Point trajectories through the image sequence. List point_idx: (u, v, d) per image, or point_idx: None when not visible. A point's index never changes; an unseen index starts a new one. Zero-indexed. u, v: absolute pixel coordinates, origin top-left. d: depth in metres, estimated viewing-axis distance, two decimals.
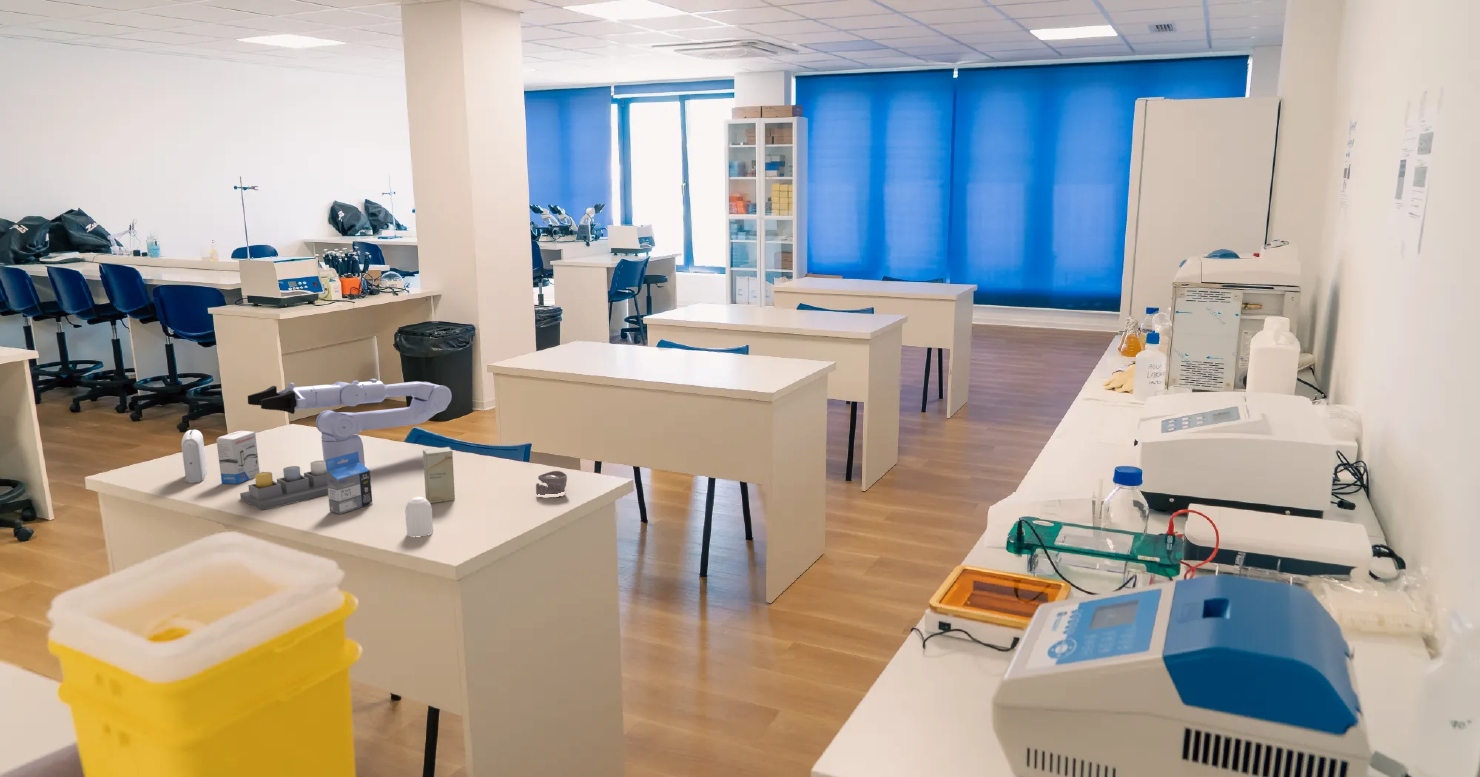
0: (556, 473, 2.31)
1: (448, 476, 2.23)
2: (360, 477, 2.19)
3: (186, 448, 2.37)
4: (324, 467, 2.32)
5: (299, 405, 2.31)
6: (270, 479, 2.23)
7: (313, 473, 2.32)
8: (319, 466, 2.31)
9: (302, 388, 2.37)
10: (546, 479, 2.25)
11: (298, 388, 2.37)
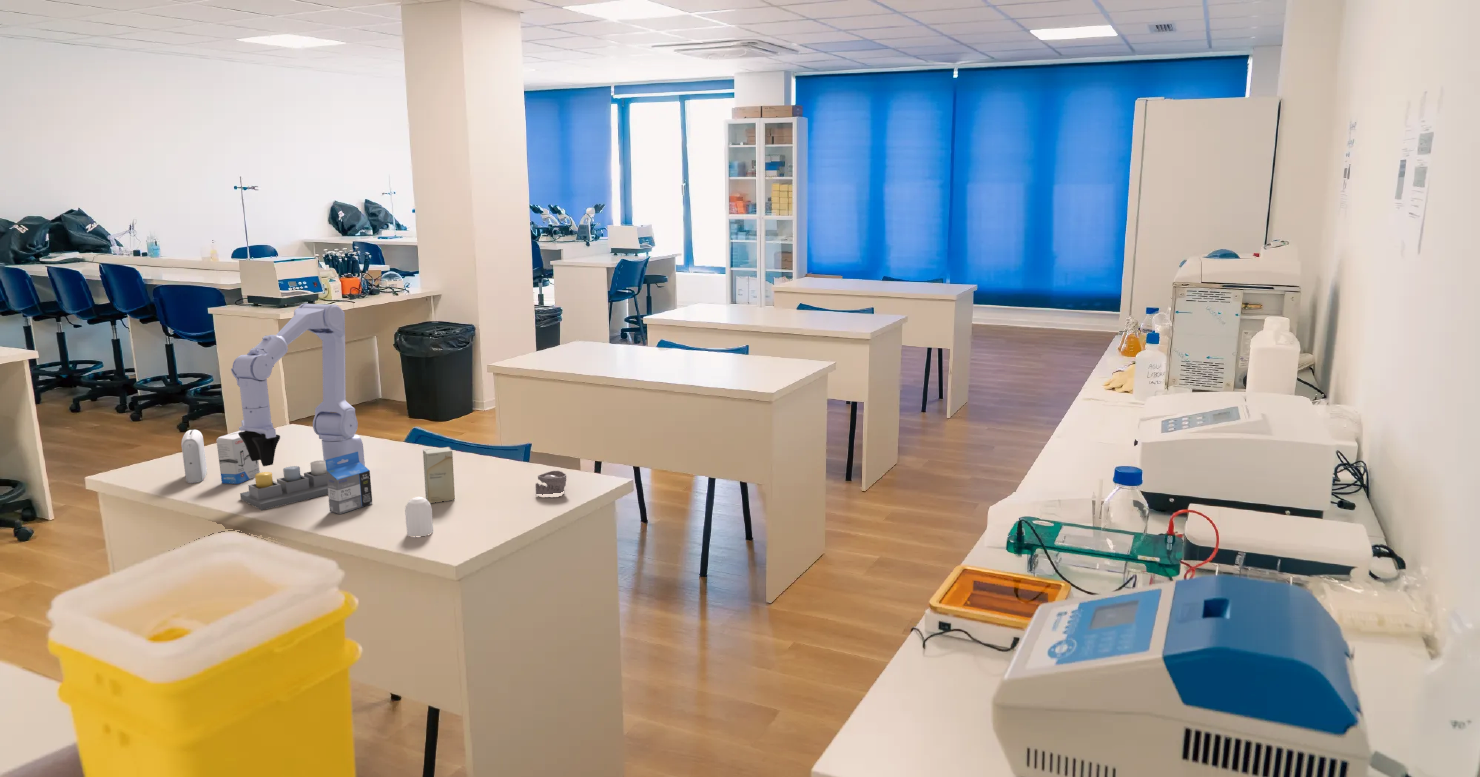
0: (556, 473, 2.31)
1: (448, 476, 2.23)
2: (360, 477, 2.19)
3: (186, 448, 2.37)
4: (324, 467, 2.32)
5: (274, 436, 2.17)
6: (270, 479, 2.23)
7: (313, 473, 2.32)
8: (319, 466, 2.31)
9: (247, 419, 2.18)
10: (546, 479, 2.25)
11: (247, 423, 2.18)
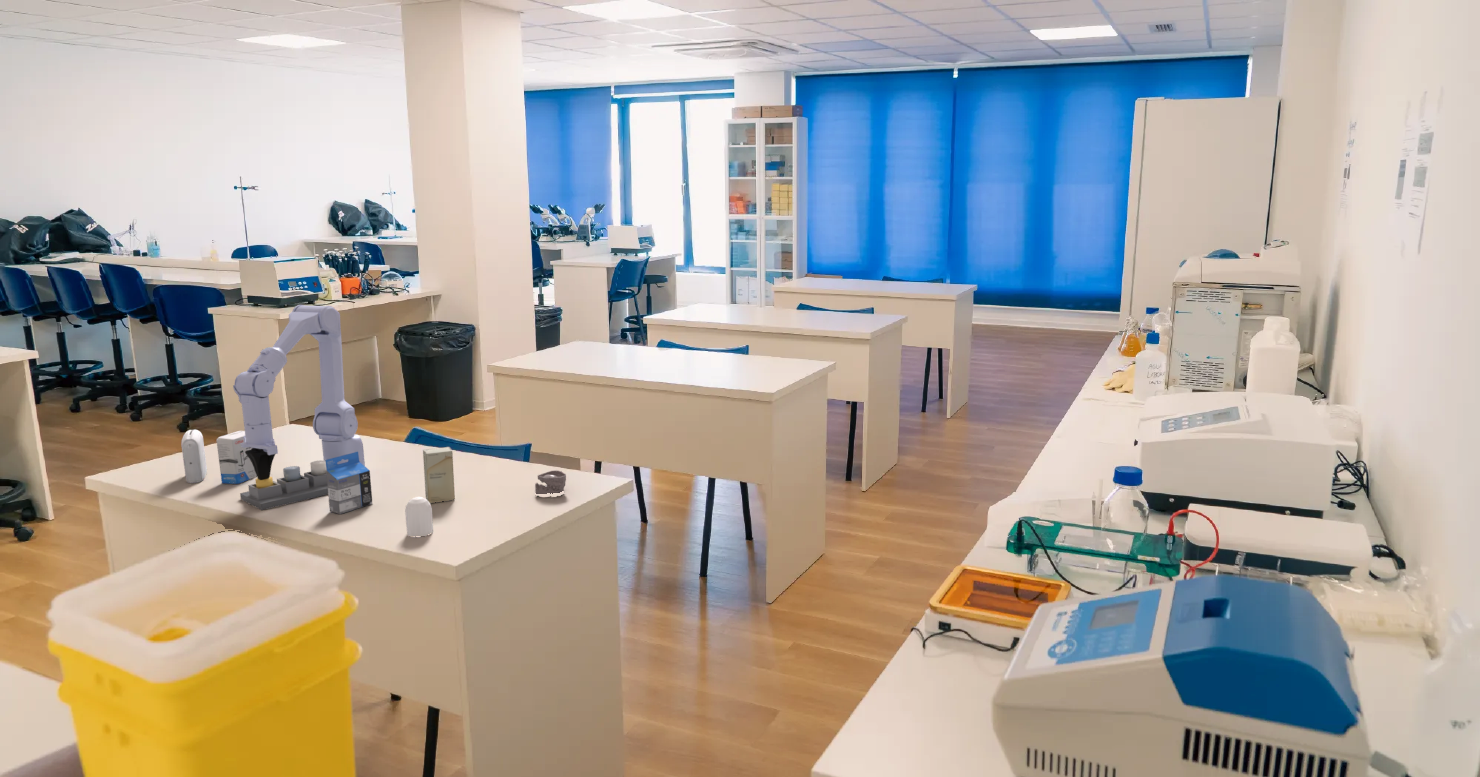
0: (555, 473, 2.31)
1: (448, 476, 2.23)
2: (360, 477, 2.19)
3: (186, 448, 2.37)
4: (324, 467, 2.32)
5: (275, 452, 2.18)
6: (270, 483, 2.23)
7: (313, 473, 2.32)
8: (319, 466, 2.31)
9: (249, 436, 2.19)
10: (545, 479, 2.26)
11: (249, 439, 2.19)
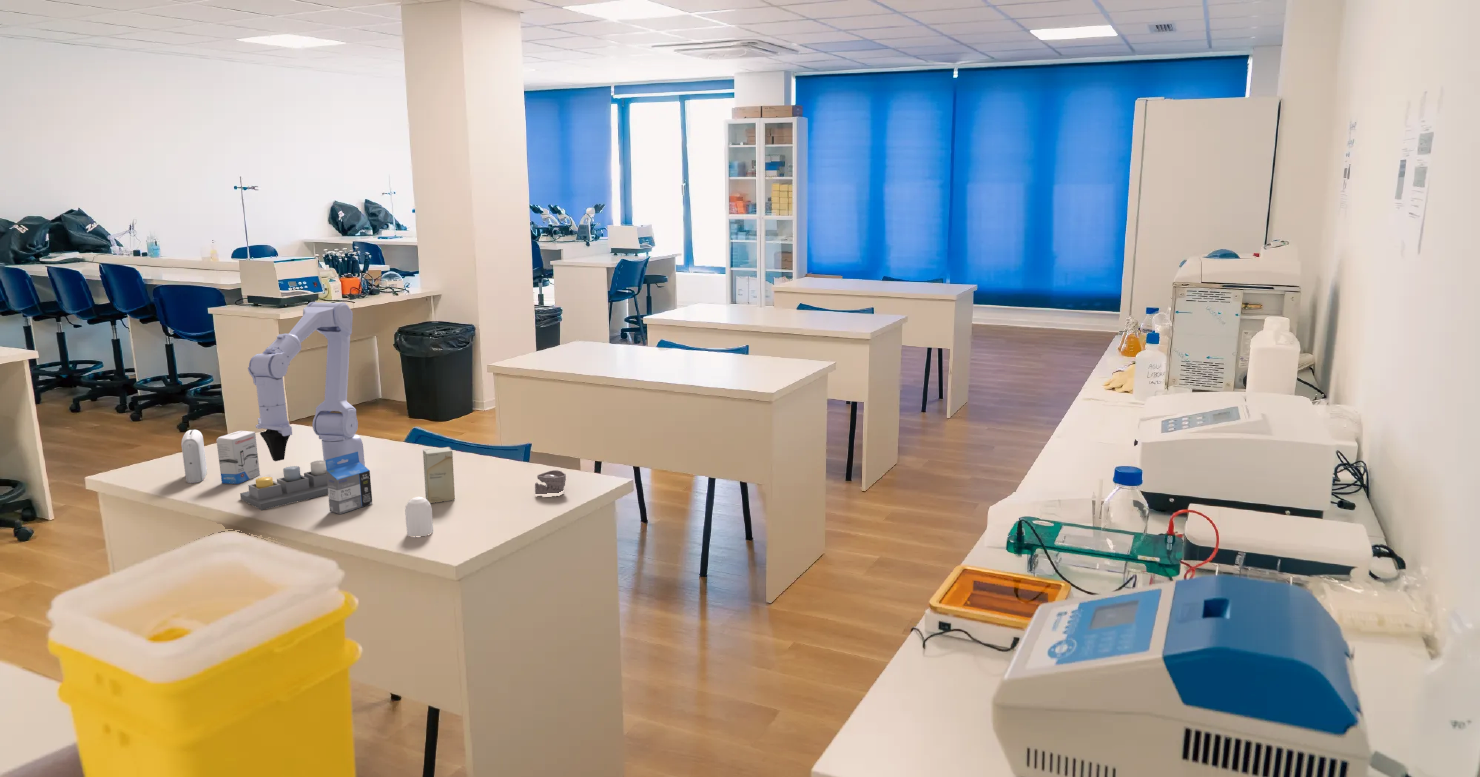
0: (555, 472, 2.31)
1: (448, 476, 2.23)
2: (360, 477, 2.19)
3: (186, 448, 2.37)
4: (324, 467, 2.32)
5: (290, 433, 2.20)
6: (271, 484, 2.24)
7: (313, 473, 2.32)
8: (319, 466, 2.31)
9: (263, 417, 2.21)
10: (545, 478, 2.26)
11: (263, 421, 2.21)
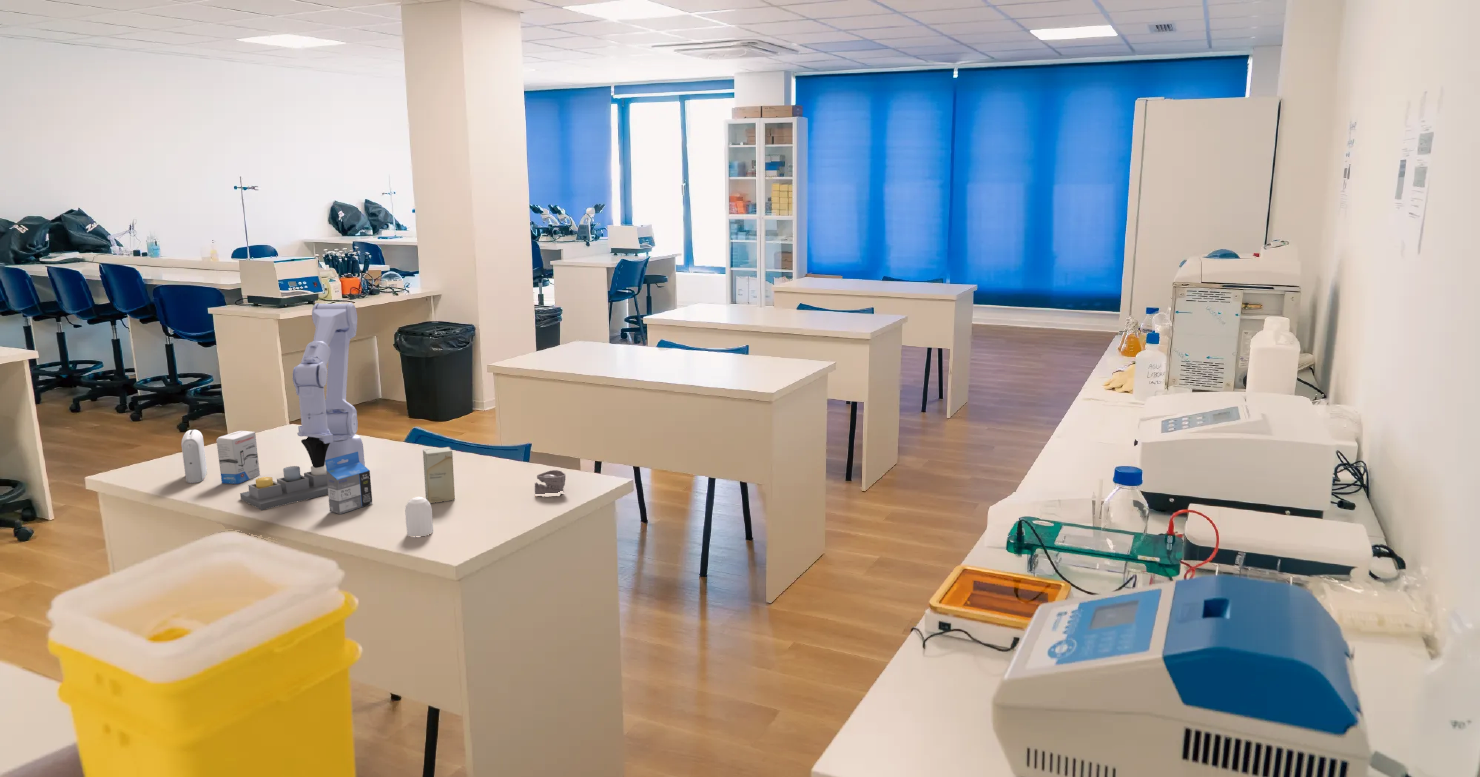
0: (555, 472, 2.32)
1: (448, 476, 2.23)
2: (360, 477, 2.19)
3: (186, 448, 2.37)
4: (324, 471, 2.33)
5: (331, 441, 2.27)
6: (271, 484, 2.24)
7: None
8: (319, 470, 2.32)
9: (305, 425, 2.28)
10: (545, 478, 2.26)
11: (305, 429, 2.28)
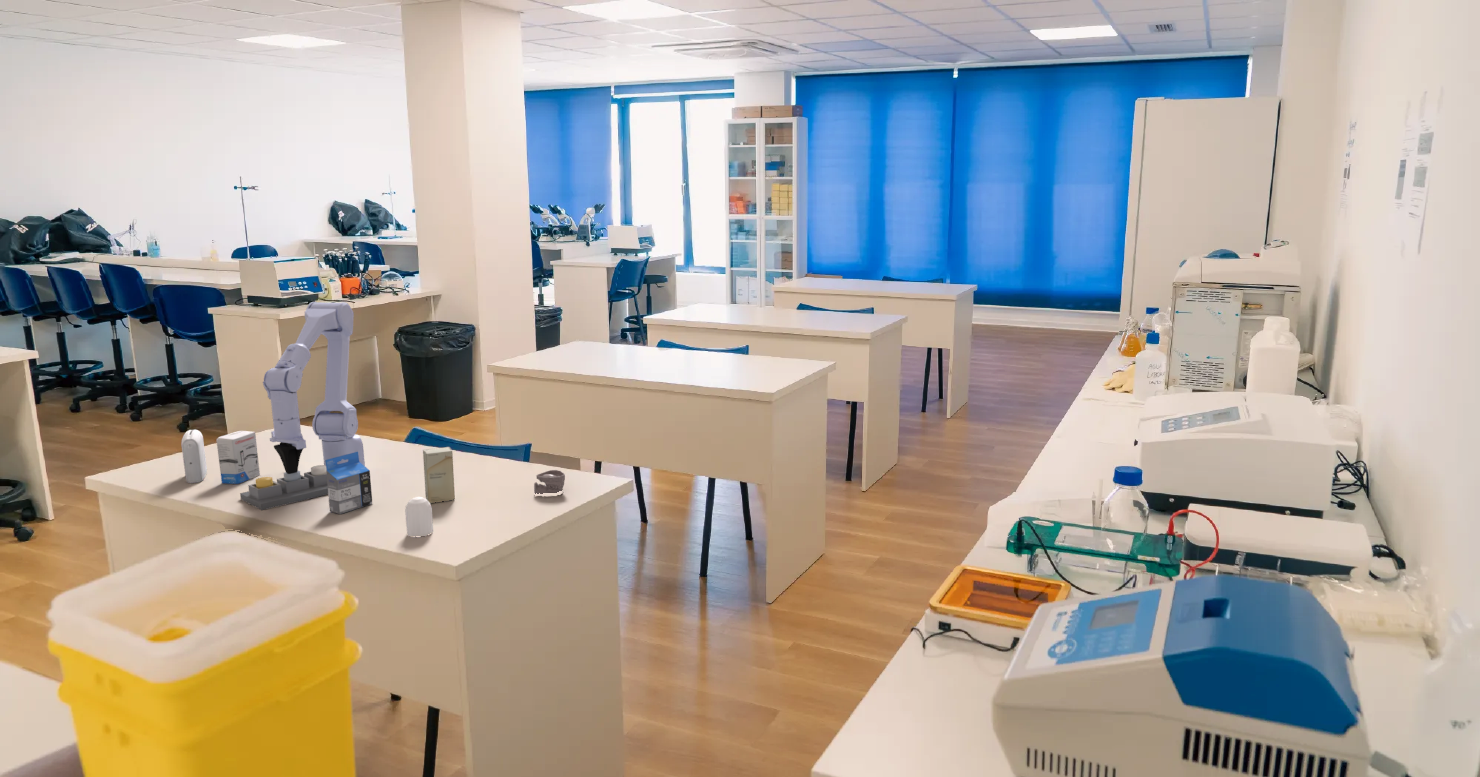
0: (554, 472, 2.32)
1: (448, 476, 2.23)
2: (360, 477, 2.19)
3: (186, 448, 2.37)
4: (324, 472, 2.33)
5: (304, 447, 2.22)
6: (271, 484, 2.24)
7: None
8: (319, 471, 2.32)
9: (278, 430, 2.23)
10: (544, 478, 2.26)
11: (277, 434, 2.24)
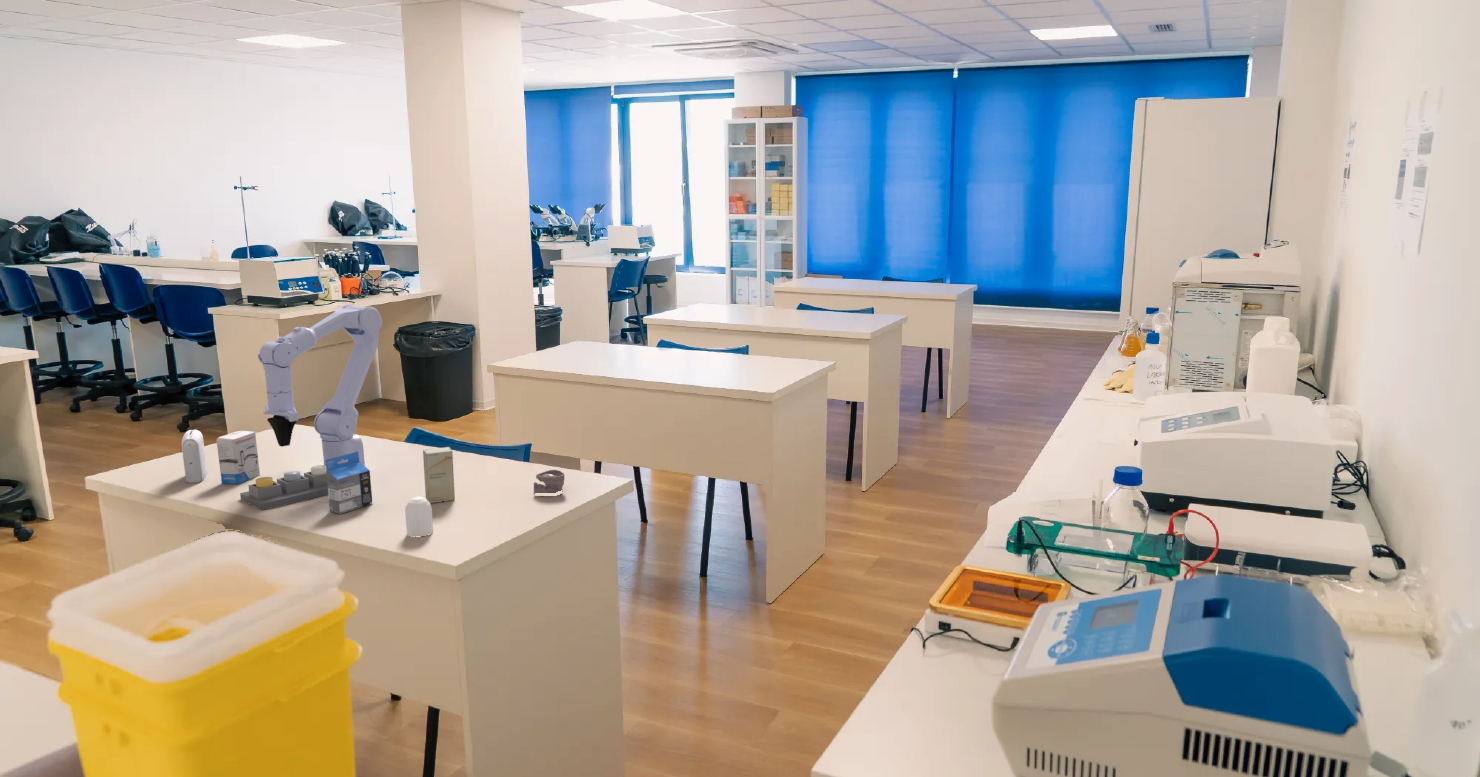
0: (553, 472, 2.32)
1: (448, 476, 2.23)
2: (360, 477, 2.19)
3: (186, 448, 2.37)
4: (324, 472, 2.33)
5: (296, 419, 2.28)
6: (271, 484, 2.24)
7: None
8: (319, 471, 2.32)
9: (271, 403, 2.29)
10: (544, 478, 2.26)
11: (271, 407, 2.30)
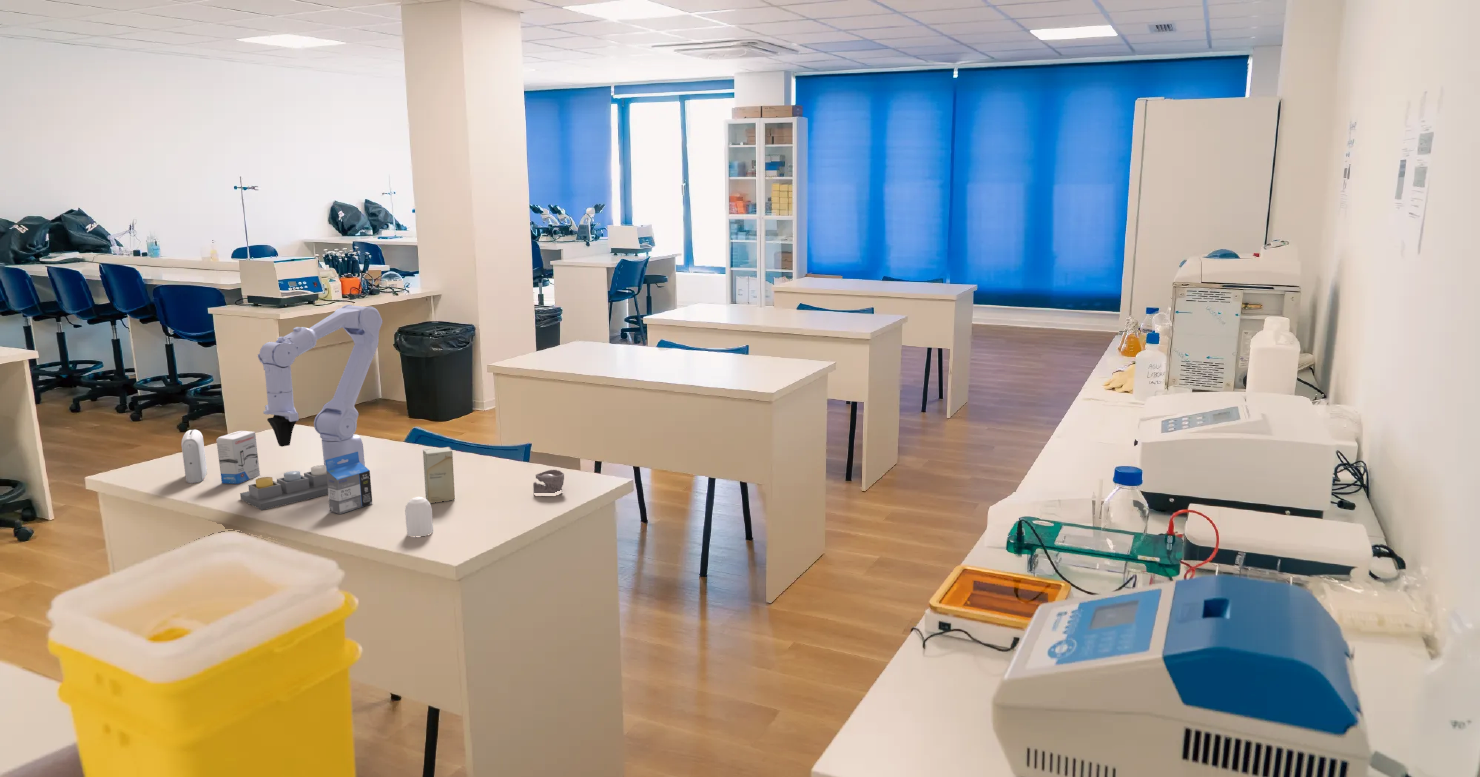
0: (553, 472, 2.32)
1: (448, 476, 2.23)
2: (360, 477, 2.19)
3: (186, 448, 2.37)
4: (324, 472, 2.33)
5: (296, 419, 2.28)
6: (271, 484, 2.24)
7: None
8: (319, 471, 2.32)
9: (271, 403, 2.29)
10: (543, 478, 2.26)
11: (271, 407, 2.30)
